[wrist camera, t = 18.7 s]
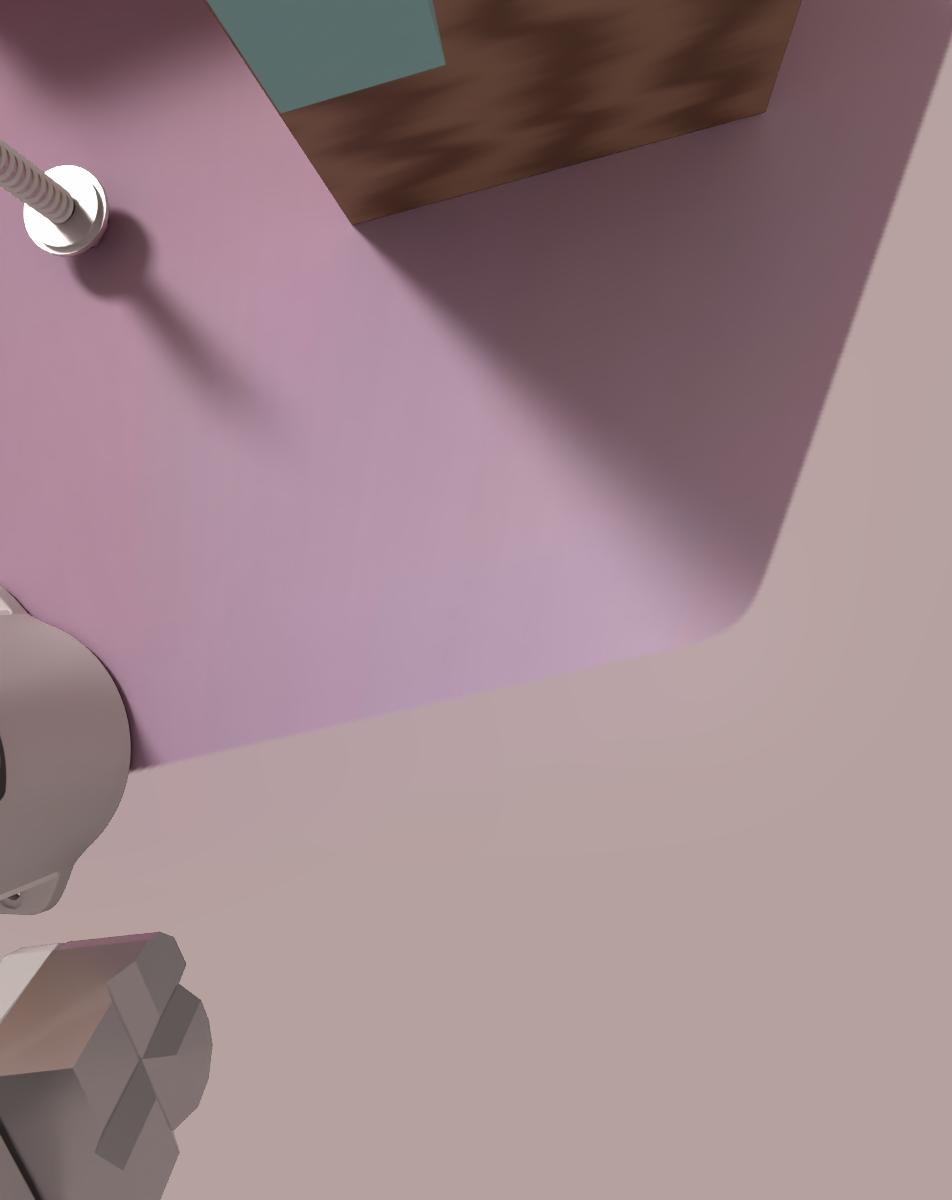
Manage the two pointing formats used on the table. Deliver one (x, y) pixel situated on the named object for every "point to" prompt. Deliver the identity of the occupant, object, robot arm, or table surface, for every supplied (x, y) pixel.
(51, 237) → the screw
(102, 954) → the robot arm
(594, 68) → the stand
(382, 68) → the beam
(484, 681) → the table surface
